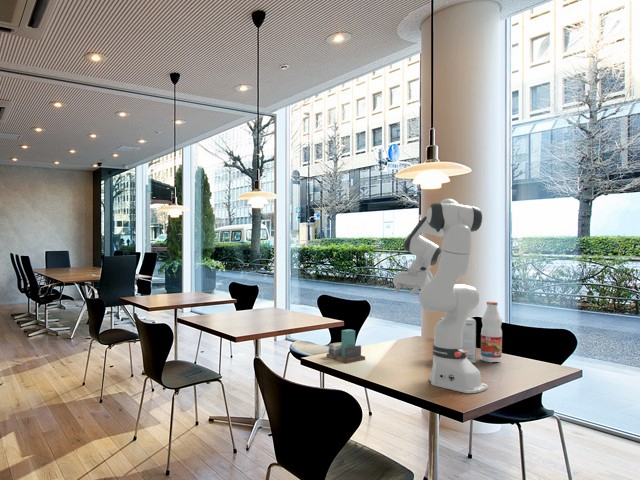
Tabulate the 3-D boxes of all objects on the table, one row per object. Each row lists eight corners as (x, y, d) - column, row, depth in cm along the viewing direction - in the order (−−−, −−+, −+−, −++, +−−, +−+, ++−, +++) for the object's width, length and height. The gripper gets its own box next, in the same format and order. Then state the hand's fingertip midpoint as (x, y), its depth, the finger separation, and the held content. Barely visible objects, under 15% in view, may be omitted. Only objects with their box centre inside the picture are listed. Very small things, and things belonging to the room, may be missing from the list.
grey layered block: (365, 359, 216) (365, 345, 216) (345, 363, 209) (346, 349, 209) (345, 353, 227) (345, 340, 227) (326, 357, 220) (326, 343, 220)
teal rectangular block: (354, 356, 217) (355, 330, 217) (346, 357, 214) (347, 331, 214) (349, 354, 220) (349, 329, 220) (341, 355, 217) (341, 330, 217)
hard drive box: (472, 359, 221) (473, 318, 221) (476, 363, 214) (476, 320, 214) (439, 357, 223) (440, 316, 223) (442, 361, 215) (442, 319, 215)
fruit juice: (504, 360, 220) (506, 302, 220) (496, 364, 213) (497, 303, 213) (486, 357, 226) (487, 300, 227) (477, 360, 220) (478, 301, 220)
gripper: (398, 266, 234) (384, 286, 228) (430, 268, 218) (416, 290, 212) (404, 274, 237) (390, 294, 231) (436, 277, 221) (422, 299, 215)
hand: (403, 292), depth 221 cm, fingers open, 8 cm apart
